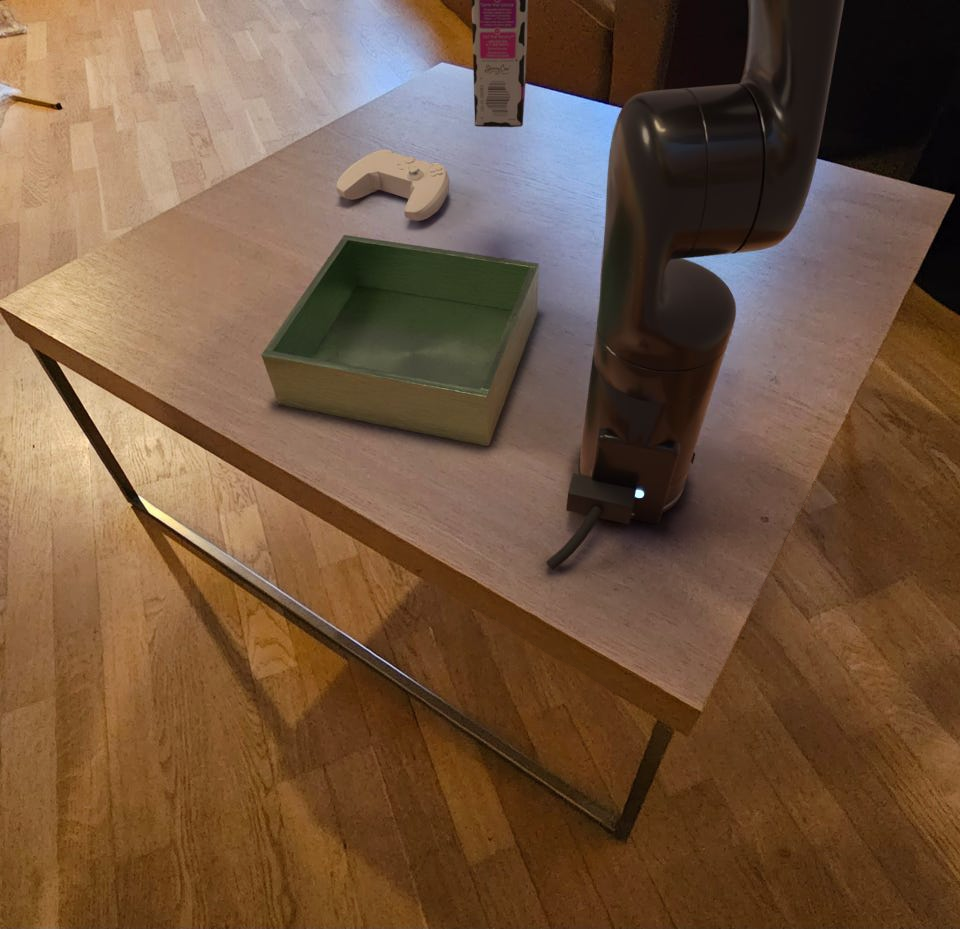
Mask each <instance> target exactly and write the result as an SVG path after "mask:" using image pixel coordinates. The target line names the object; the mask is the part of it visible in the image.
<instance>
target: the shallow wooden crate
mask: <svg viewBox="0 0 960 929" xmlns="http://www.w3.org/2000/svg"><path fill="white" fill-rule="evenodd" d="M539 276H540V263H538V262H531V261H525V260H519V259H510V258H505V257H497V256H491V255H484V254H477V253H471V252H464V251H456V250H451V249H450V250H449V249H443V248H436V247H430V246H422V245H417V244H409V243H403V242H402V243H401V242H395V241H389V240H382V239H375V238H368V237H361V236H354V235H348V234H344V235H342V237H341V238H340V240H339V242H338V243H337V244H336V246H335V247H334V249H333V250H332V251H331V253H330V254H329V256H328V257H327V259H326V260H325V261H324V263H323V265H322V266H321V267H320V269H319V271H318V272H317V273H316V275H315V276H314V278H312V281H311V282H310V283H309V285H308V286H307V287H306V289H305V291H304V292H303V293H302V294H301V297H300V298H299V299H298V301H297V302H296V303H295V305H294V306H293V308H292V310H291V311H290V312H289V314H288V315H287V317H286V318H285V320H284V321H283V322H282V324H281V326H280V327H279V328H278V330H277V331H276V332H275V334H274V336H273V337H272V338H271V340H270V341H269V343H268V344H267V346H266V347H265V349H264V350H263V351H262V353H261V355H260V356H261V358H262V361H263V364H264V367H265V369H266V372H267V376H268V378H269V381H270V383H271V386H272V389H273V392H274V394H275V397H276V401H277V404H278V405H281V406H286V407H290V408H295V409H301V410H306V411H310V412H314V413H319V414H325V415H330V416H335V417H340V418H346V419H350V420H356V421H360V422H365V423H370V424H375V425H380V426H386V427H390V428H394V429H400V430H405V431H411V432H414V433H420V434H425V435H429V436H433V437H434V436H435V437H439V438H445V439H449V440H454V441H459V442H464V443H470V444H475V445H479V446H485V447H490V443H491V441H492V438H493V435H494V433H495V430H496V427H497V424H498V422H499V418H500V416H501V413H502V411H503V409H504V406H505V403H506V400H507V397H508V395H509V392H510V389H511V386H512V384H513V381H514V379H515V375H516V372H517V370H518V367H519V365H520V361H521V359H522V357H523V353H524V351H525V348H526V345H527V343H528V340H529V337H530V334H531V332H532V329H533V326H534V323H535V321H536V318H537V315H538V301H539V300H538V297H539Z"/></svg>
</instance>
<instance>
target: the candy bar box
mask: <svg viewBox="0 0 960 929" xmlns="http://www.w3.org/2000/svg"><path fill="white" fill-rule="evenodd" d="M470 2H471V28H472V29H471V30H472V34H471V35H472V67H473V68H472V70H473V71H472V72H473V106H474V108H473V109H474V127H479V128H521V127H523V126H524V112H525V99H526V98H525V97H526V80H527V79H526V77H527V54H528V18H529V16H528V14H529V0H470Z"/></svg>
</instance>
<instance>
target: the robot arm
mask: <svg viewBox="0 0 960 929" xmlns="http://www.w3.org/2000/svg"><path fill="white" fill-rule="evenodd" d="M844 5H845V0H747V6H748V15H747V16H748V17H747V20H748V21H747V22H748V24H747V26H748V27H747V43H746V44H747V45H746V53H745V60H744V61H745V62H744V65H743V66H744V67H743V72H742V76H741V79H740V82H739V83H731V84H729V83H728V84H718V85H707V86H706V85H705V86H694V87H693V86H692V87H682V88H671V89H658V90H652V91H651V90H650V91H643V92H639V93H637V94H635V95H633V96H631V97H630V98H629V99H628V100H627V101H626V102H625V103H624V105H623V106H622V108H621V110H620V111H619V113H618V115H617V117H616V121H615V124H614V127H613V131H612V134H611V135H612V136H611V141H610V147H609V151H608V152H609V153H608V163H607V164H608V165H607V174H606V176H607V177H606V195H605V197H606V198H605V216H604V233H603V243H602V244H603V245H602V254H601V263H600V264H601V265H600V276H599V279H600V280H599V283H600V284H599V299H598V309H597V319H596V329H595V335H594V336H595V338H594V344H593V345H594V346H593V352H592V360H591V366H590V367H591V368H590V373H589V374H590V375H589V383H588V391H587V399H586V407H585V415H584V422H583V423H584V424H583V430H582V431H583V432H582V438H581V439H582V440H581V448H580V456H579V458H578V463H577V473H575V472H573V473H572V475H571V480H570V484H569V487H568V492H567V498H566V507H565V511H566V512H571V513H574V514H579V515H585V516H586V517H585V518H584V520H583V521H582V523H581V524H580V526H579V527H578V528H577V530H576V531H575V532H574V534H573V535H572V536H571V537H570V539H569V540H568V541H567V542H566V543H565V545H563V546H562V547H561V548H560V549H559V550H558V551H557V552H556V553H555V554H553V556H551V557H550V558H548V560H546V565H547V566H548V567H549V569H550V570H552V571H555V570H556V569H557V568H558V567H559V566H560V565H562V564H563V563H564V562H566V561H567V559H569V558H570V557H571V556H572V555H573V554H574V553H575V552H576V551H577V550H578V549H579V547H580V546H581V545H582V544H583V543H584V541H585V540H586V539H587V537H588V536H589V534H590V532H591V531H592V529H593V528H594V527H595V525H596V523H597V522H598V521H599V519H602V520H603V519H604V520H607V521H612V522H617V523H622V524H625V525H626V524H627V525H629V524H630V521H631V520H636V521H641V522H646V523H650V524H655V525H657V524H659V523H660V521H661V518H662V514H664V513H665V512H667V511H669V510H670V509H671V508H673V507H674V506H675V505H676V504H677V503H678V501H679V500H680V499H681V497H682V495H683V493H684V489H685V486H686V482H687V477H688V476H687V475H688V473H689V470H690V466H691V465H693V464H694V462H695V458H696V455H697V454H696V453H695V449H696V447H697V443H698V441H699V437H700V434H701V430H702V426H703V423H704V420H705V417H706V414H707V411H708V408H709V404H710V402H711V399H712V395H713V391H714V389H715V385H716V382H717V378H718V376H719V373H720V370H721V367H722V364H723V360H724V357H725V353H726V351H727V347H728V344H729V342H730V339H731V335H732V332H733V329H734V327H735V321H736V318H737V317H736V316H737V305H736V299H735V297H734V295H733V292H732V290H731V289H730V286H728V284H726V282H725V281H724V280H723V279H722V278H721V277H720V276H719V275H717V274H716V273H714V272H713V271H712V270H711V269H709V268H706V267H705V266H704V265H701V264H699V263H697V262H694V261H691V260H689V259H692V258H701V257H702V258H703V257H704V258H705V257H711V256H712V257H714V256H724V255H725V256H726V255H733V254H739V253H741V254H742V253H750V252H758V251H762V250H766V249H770V248H773V247H775V246H777V245H779V244H780V243H781V242H783V241H784V240H785V239H786V238H787V236H789V234H790V233H791V232H792V231H793V229H794V228H795V226H796V224H797V222H798V220H799V218H800V216H801V215H802V212H803V210H804V208H805V204H806V201H807V199H808V197H809V193H810V190H811V185H812V182H813V178H814V174H815V170H816V165H817V163H818V162H817V161H818V156H819V150H820V146H821V139H822V136H823V135H822V134H823V130H824V125H825V124H824V123H825V118H826V111H827V106H828V100H829V96H830V94H829V93H830V89H831V83H832V76H833V70H834V64H835V58H836V53H837V47H838V40H839V35H840V28H841V24H842V17H843V11H844Z"/></svg>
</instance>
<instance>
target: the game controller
mask: <svg viewBox="0 0 960 929" xmlns="http://www.w3.org/2000/svg"><path fill="white" fill-rule="evenodd" d="M335 186H336V192H337V194H338V195H339V196H340V197H342V198H344V199H347V200H357V199H361V198H363V197H365V196H368V195H370V194H372V193H374V192H378V190H379V191H382V192H386V193H389V194H393V195H396V196H398V197H402V198H404V199H407V202H406V205H405V206H404V216H405V218H406V219H408V220H412V221H424V220H427V219H428V218H430V217H432V216H434V214H436V213H437V212H438V211H439V210H440V209H441V208H442V206H443V204H444V203H445V201H446V200H447V199H446V198H447V197H448V194H449V190H450V177H449V174H448V171H447V169H446V167H445V166H443V165H442V164H440V163H437V162H433V163H431V162H429V161H424V160H420V159H417V158H415V157H414V156H406V155H403V154H399V153H395V152H394V151H393V150H390V149H379V150H376V151H374V152H371V153H369V154H367V155H365V156H363V157H362V158H360V159H359V160H357V161H355V162H354V163H353V164H352V165H350V166H349V167H348V168H347V169H346V170H345V171H344V172H343V173H342V174H340V176H339V178H338V179H337V182H336V185H335Z"/></svg>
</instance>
